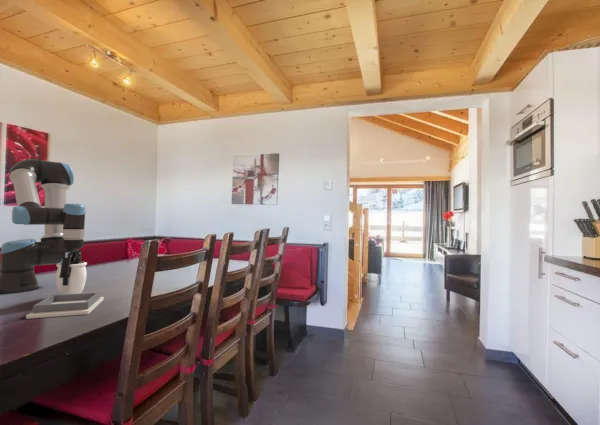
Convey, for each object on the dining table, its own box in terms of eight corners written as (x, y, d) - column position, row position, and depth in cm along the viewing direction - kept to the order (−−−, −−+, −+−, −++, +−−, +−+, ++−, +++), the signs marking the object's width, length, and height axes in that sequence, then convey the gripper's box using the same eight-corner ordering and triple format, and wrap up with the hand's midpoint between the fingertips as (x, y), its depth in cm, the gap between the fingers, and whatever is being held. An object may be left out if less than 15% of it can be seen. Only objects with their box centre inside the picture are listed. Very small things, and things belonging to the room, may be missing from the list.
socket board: (51, 302, 118) (52, 293, 118) (103, 299, 125) (104, 290, 125) (26, 318, 100) (26, 307, 100) (88, 314, 106) (88, 303, 106)
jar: (49, 301, 120) (50, 264, 120) (63, 294, 130) (64, 261, 130) (78, 300, 123) (80, 264, 123) (89, 294, 133) (91, 261, 133)
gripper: (72, 237, 136) (70, 284, 136) (51, 240, 115) (48, 297, 114) (91, 237, 139) (89, 283, 138) (73, 240, 118) (71, 295, 117)
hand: (70, 289), depth 126 cm, fingers closed on jar, 10 cm apart
